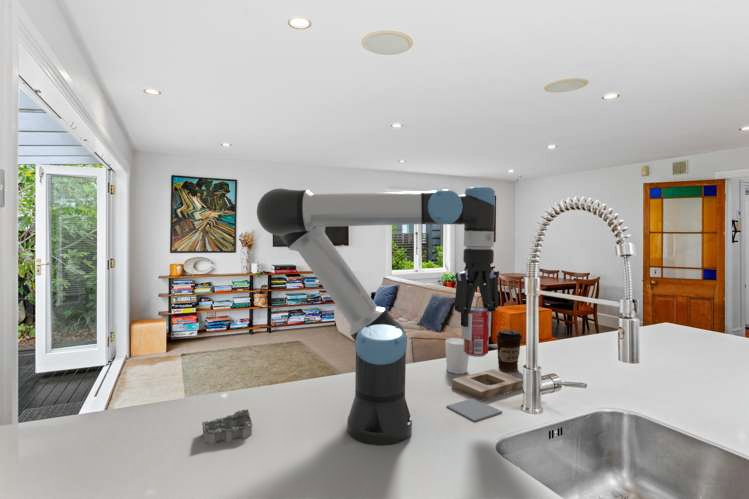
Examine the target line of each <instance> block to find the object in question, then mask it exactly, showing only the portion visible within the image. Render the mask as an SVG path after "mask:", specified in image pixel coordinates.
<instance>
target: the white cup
mask: <svg viewBox="0 0 749 499" xmlns="http://www.w3.org/2000/svg"><path fill="white" fill-rule="evenodd" d="M469 357H470V356H469V355H467V354H466V353H465V352H464V339H463V338H462V337H460V338H457V337H451V338H446V339H445V359H446V360H445V362H446V371H447V372H449V373H452V374H456V375H463V374H466V373H467V372H468V366H469Z"/></svg>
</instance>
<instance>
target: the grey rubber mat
mask: <svg viewBox="0 0 749 499" xmlns="http://www.w3.org/2000/svg"><path fill="white" fill-rule="evenodd" d="M446 408H447V409H450V410H451V411H453V412H455V413H457V414H459V415H461V416H462V417H464V418H466V419H468V420H470V421H472V422H474V423H475V422H478V421H481V420H484V419H487V418H490V417H491V418H492V417H495V416H496V415H501V414H503V411H502V410H500V409H498V408H496V407H494V406H491V405H490V404H487V403H485V402H482V401H480V400H478V399H476V398H473V397H472V398H468V399H465V400H461V401H459V402H454V403H451V404H448V405H446Z"/></svg>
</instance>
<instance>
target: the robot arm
mask: <svg viewBox="0 0 749 499" xmlns="http://www.w3.org/2000/svg"><path fill="white" fill-rule="evenodd" d="M256 216H257V220H258V223H259V224H260V226H261V228H263V229H264V230H265V231H266V232H267V233H268V234H271V235H274V236H279V237H280V239H281V240H282V241H283V243H284V244H285V245H286V247H287V248H288V249H289V250H290V251H294V252H295V251H296V252H298V253H299V255H300V256H301V258H302V259H303V261H304V262H305V264H306V265H307V266H308V267H309V269H310V270H311V271H312V274H314V276H315V277H316V279H317V280H318V282H319V283H320V285H321V286H322V288H324V291H326V293H327V294H328V295H329V297H330V298H331V300H332V301H333V302H334V304H335V305H336V307H337V308H338V310H339V312H340V313H341V314H342V316H343V317H344V318H345V319H346V321H347V323H348V324H349V325H350V329H349V335H350V337H351V338H352V339H353V341H354V349H355V380H354V381H355V382H354V384H355V385H354V386H355V389H354V390H355V393H354V394H355V396H354V399H353V401H352V405H351V408H350V411H349V414H348V416H347V421H346V422H347V426H346V427H347V428H346V429H347V430H346V431H347V433H348V434H349V436H351V437H352V438H353V439H354V440H357V441H360V442H361V443H365V444H369V445H380V446H381V445H382V446H383V445H393V444H397V443H399V442H402V441H404V440H406V439H407V438H409V437H410V435H411V434H412V431H413V430H412V429H413V421H412V420H413V419H412V417H411V413H410V410H409V407H408V402H407V400H406V369H407V368H406V367H407V366H406V364H407V362H406V361H407V360H406V359H407V358H406V357H407V347H408V339H407V337H408V336H407V334H406V333H407V332H405V329H404V328H403V326H402V325H401V324H400V323H399V322H398V321H397V320H395V318H393V317H392V315H391V313H389V311H388V309H386V307H384V306H378V305H377V304H376V303H375V301H374V300H373V298H372V297H371V296H370V294H369V293H368V291H367V290H366V288H365V287H364V285H362V283H361V281H360V280H359V278H358V277H357V276H356V275H355V273H354V272H353V271H352V269H351V268H350V266H349V265H348V263H347V262H346V260H345V259H344V258H343V256H342V255H341V254H340V252H339V251H338V250H337V248H336V247H335V246H334V244H333V242H332V241H331V240H330V238H329V237H328V235H327V234H326V228H327V227H330V228H331V227H363V226H365V227H367V226H371V227H372V226H399V225H401V226H402V225H406V226H407V225H409V226H411V225H427V226H428V225H429V226H431V225H461V226H462V225H463V228H464V229H463V247H465V248H464V249H463V259H462V260H463V263H464V264H465V267H464V269H463V271H461V272H455V278H456V285H455V295H454V296H455V299H454V308H453V310H454V311H456V312H458V313H460V326H461V339H467V340H472V314H469V313H470V310H471V307H473V301H474V298H475V293H476V289H478V288H479V292H480V293H479V294H480V297H481V298H480V299H481V301H482V307H483V308H487V310H488V312H489V338H490V337H491V328H492V327H491V326H492V322H493V312H494V313H495V312H496V311H497V309H498V308H499V276H500V271H499V270H493V269H492V267H491V266H492V264H493V263H494V261H495V260H494V258H495V257H494V254H495V251H494V250H493V249H492V248H493V247H494V243H495V221H496V220H495V219H496V218H495V216H496V193H495V189H494V188H492V187H490V186H489V187H488V186H471V187H467V188H465V190H464V194H458V193H457V192H456V191H454V190H451V189H448V188H447V189H445V188H443V189H439V190H427V191H392V192H391V191H388V192H386V191H385V192H352V193H351V192H350V193H347V192H345V193H320V194H319V193H318V194H317V193H316V194H315V193H312V192H311V191H310V190H309V189H307V190H306V189H302V190H301V189H300V190H298V189H297V190H296V189H287V188H282V187H281V188H275V189H271V190H269V191H267V192H266V193H264V194H263V196H262V197H261V198H260V199H259V201H258V203H257V207H256Z"/></svg>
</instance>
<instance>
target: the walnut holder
mask: <svg viewBox="0 0 749 499" xmlns="http://www.w3.org/2000/svg"><path fill="white" fill-rule="evenodd" d="M484 383H489V384H491V385H487V384H484ZM522 384H523V385H524V379H521V378H519V377H516V376H514V375H511V374H508V373H505V372H504V371H501V370H497V369H494V368H491V369H488V370H484V371H479V372H475V373H472V374H468V375H464V376H460V377H455V378H452V379H451V388H452V389H453V390H456V391H458V392H461V393H463V394H465V395H467V396H470V397H472V398H474V399H477V400H479V401H481V402H482V401H485V400H489V399H492V398H496V397H498V395H499V396H501V395H502V396H503V395H505V394H504V393H506V394H508V393H507V392H509V393H511V391H512V392H515V391H514V390H516V391H518V390H517V389H519V390H521V389H520V388H522ZM522 389H523V388H522Z"/></svg>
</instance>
